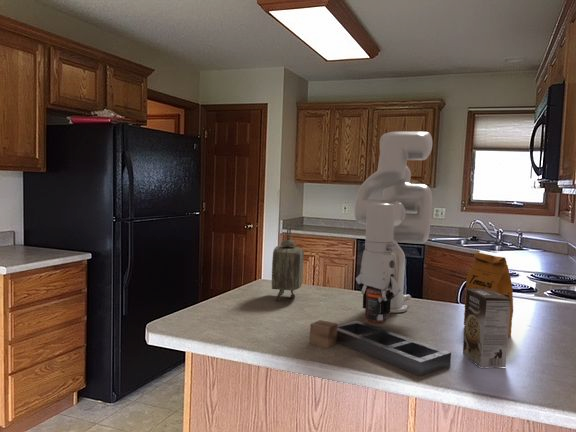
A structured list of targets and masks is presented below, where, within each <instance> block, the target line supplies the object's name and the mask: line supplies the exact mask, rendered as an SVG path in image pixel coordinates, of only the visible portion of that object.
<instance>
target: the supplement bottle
mask: <svg viewBox="0 0 576 432" xmlns="http://www.w3.org/2000/svg"><path fill="white" fill-rule="evenodd" d="M386 294H387V291H386ZM382 300H383V297H382V292H381V290H380V289H376V288H374V287H370V288H368V289H367V291H366V308H365V311H364V312H365V313H364V317H365V321H366V322H368V323H371V324H377V325H378V324H379V325H380V324H384V323H386V322H387V316H388V314H385V315H382V314H381V301H382Z"/></svg>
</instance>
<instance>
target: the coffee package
mask: <svg viewBox="0 0 576 432" xmlns="http://www.w3.org/2000/svg"><path fill="white" fill-rule="evenodd" d="M473 255H474V256H473V257H474V258H475V259H474V262H473V264H472V266H471V268H470V270H469V272H468V274H467V276H466V278H465V295H464V298H465V300H464V310H465V309H466V293H467V290H466V289H484V290H493V291H495V292H497V293H499V294H502V295H504V296H506V297H508V298H511V308H510V320H509V332H508V338H509V337H512V327H513V326H512V324H513V316H514V297H513V296H514V295H513V293H514V291H513V283H512V279H511V274H510V270H509V266H508V264H507V260H506V257H503V256H496V255H492V254H487V253H483V252H479V251H477V252H475V253H474V254H473ZM463 316H464V317H463V319H464V320H463V325H464V326H465V311H464V313H463Z"/></svg>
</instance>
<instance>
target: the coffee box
mask: <svg viewBox="0 0 576 432" xmlns="http://www.w3.org/2000/svg"><path fill="white" fill-rule="evenodd" d="M466 290H467V293H466V309H465V308H464V312H465V325H464V329H463V342H462V343H463V344H462V355H464V356H465V357H466V358H467V357H468V358H467V359H469V360H470V361H471V360H472V361H473V364H475V363H476V364H477V365H478V366H477V365H476V364H475V365H476V366H477V367H479V366H480V367H506V368H507V357H508V356H507V355H508V354H507V353H508V344H509V343H508V342H509V337H508V332H509V320H510V308H511V298H508V297H506V296H504V295H502V294H499V293H497V292H495V291H493V290H484V289H466V288H465V291H466ZM472 361H471V362H472ZM480 367H479V368H480Z"/></svg>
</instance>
